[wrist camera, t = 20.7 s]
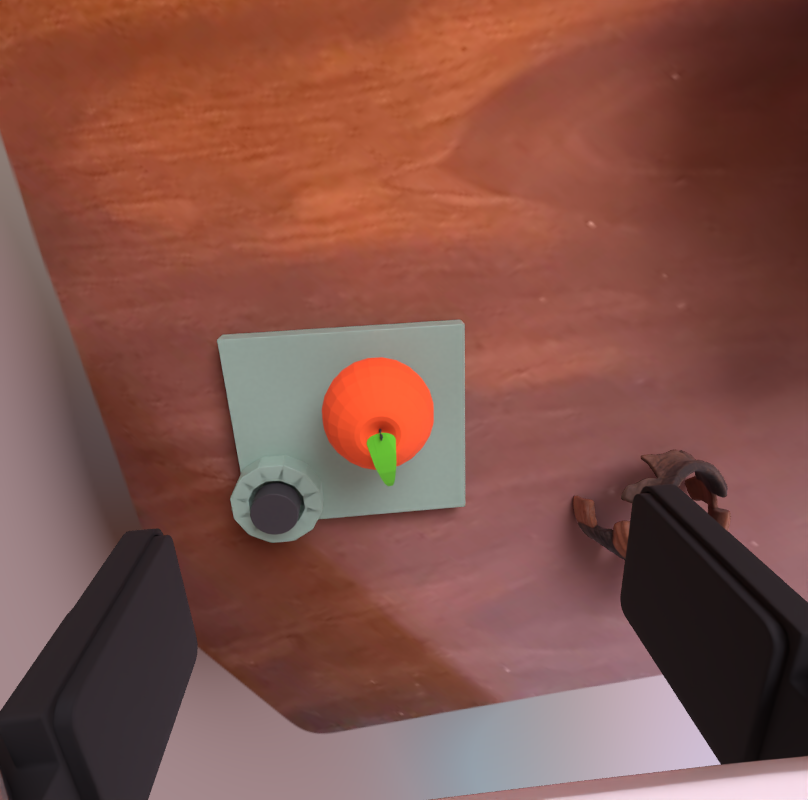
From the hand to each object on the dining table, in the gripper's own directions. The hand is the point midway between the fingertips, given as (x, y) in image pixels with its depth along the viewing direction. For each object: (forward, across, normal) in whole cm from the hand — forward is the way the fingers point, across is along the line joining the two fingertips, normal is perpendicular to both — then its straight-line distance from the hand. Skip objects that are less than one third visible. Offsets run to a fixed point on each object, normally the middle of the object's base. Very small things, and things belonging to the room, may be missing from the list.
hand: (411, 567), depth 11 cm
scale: (+26, +2, +8) cm, 28 cm away
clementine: (+25, 0, +6) cm, 26 cm away
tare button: (+24, +7, +13) cm, 28 cm away
